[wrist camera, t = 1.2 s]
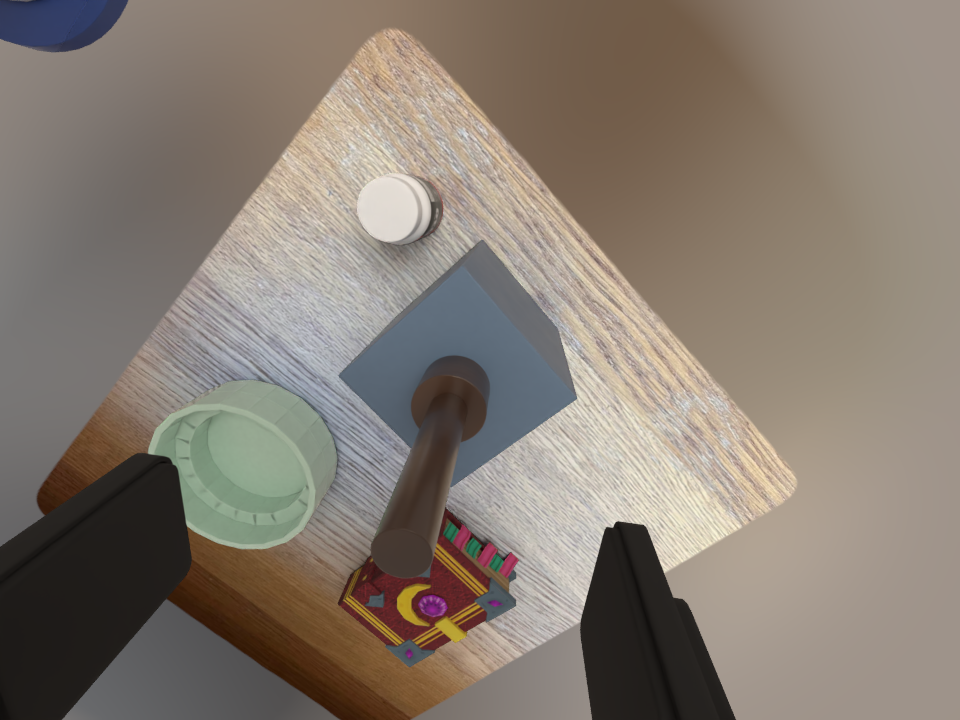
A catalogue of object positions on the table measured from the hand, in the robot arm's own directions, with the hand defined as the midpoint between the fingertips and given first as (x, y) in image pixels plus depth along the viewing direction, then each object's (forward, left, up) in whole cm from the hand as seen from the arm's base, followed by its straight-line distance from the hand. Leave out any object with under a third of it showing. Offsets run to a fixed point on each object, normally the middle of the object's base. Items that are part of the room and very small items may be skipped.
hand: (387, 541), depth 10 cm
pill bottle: (-8, 0, -31) cm, 32 cm away
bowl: (-2, -28, -30) cm, 41 cm away
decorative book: (+20, -25, -31) cm, 44 cm away
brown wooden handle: (+2, -3, -16) cm, 17 cm away
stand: (+2, -3, -30) cm, 31 cm away
